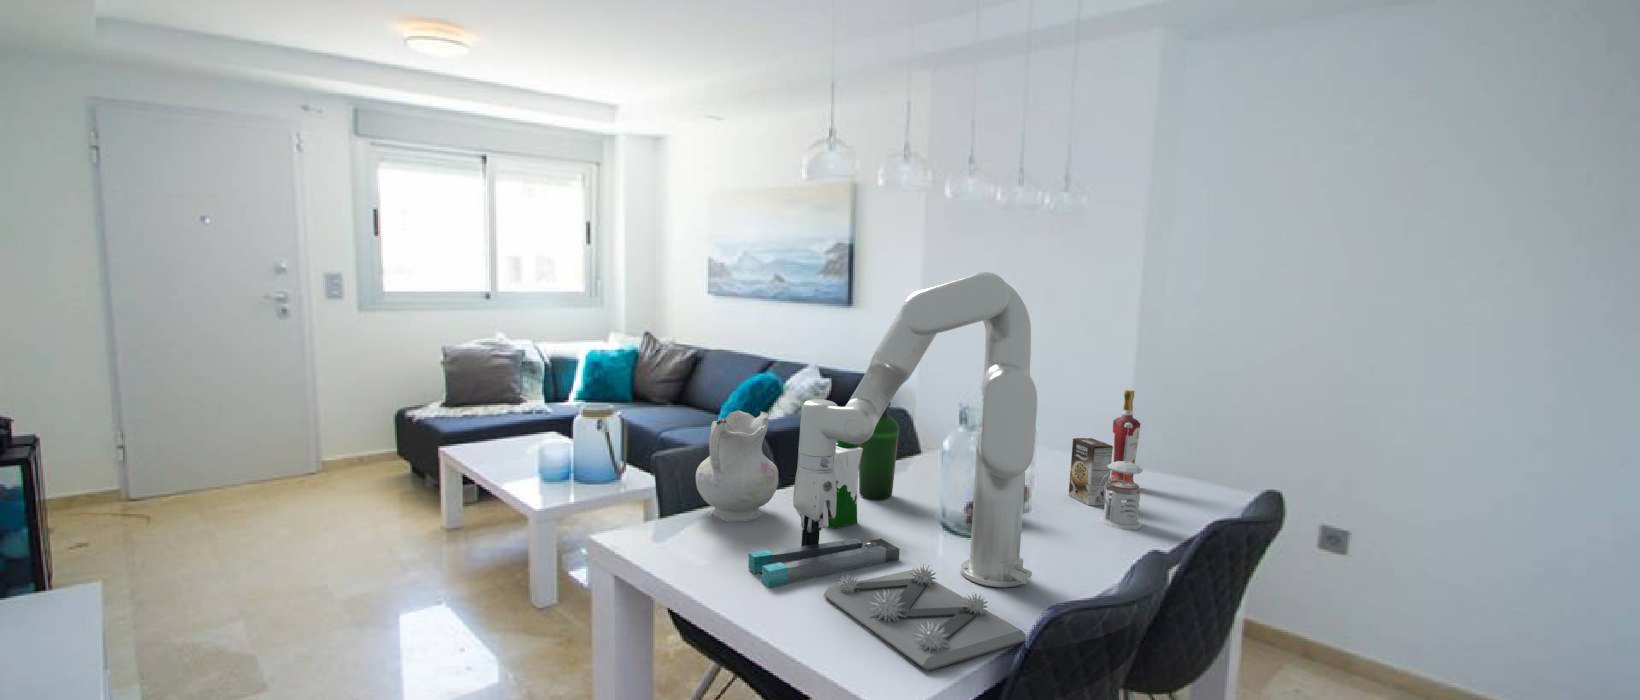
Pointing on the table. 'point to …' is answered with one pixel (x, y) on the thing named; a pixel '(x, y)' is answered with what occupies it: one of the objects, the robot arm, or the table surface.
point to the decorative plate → (924, 617)
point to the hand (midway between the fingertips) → (809, 548)
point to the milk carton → (846, 484)
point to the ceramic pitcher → (737, 468)
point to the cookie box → (1089, 470)
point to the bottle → (879, 460)
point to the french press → (1122, 496)
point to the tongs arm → (802, 553)
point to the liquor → (1125, 437)
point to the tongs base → (828, 564)
